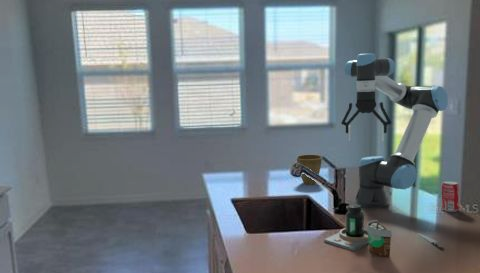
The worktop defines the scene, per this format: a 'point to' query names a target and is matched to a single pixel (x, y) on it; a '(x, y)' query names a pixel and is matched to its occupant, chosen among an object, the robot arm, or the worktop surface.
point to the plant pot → (310, 166)
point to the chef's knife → (431, 241)
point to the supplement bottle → (354, 221)
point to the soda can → (450, 196)
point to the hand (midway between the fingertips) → (365, 140)
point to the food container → (378, 239)
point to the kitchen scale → (348, 240)
